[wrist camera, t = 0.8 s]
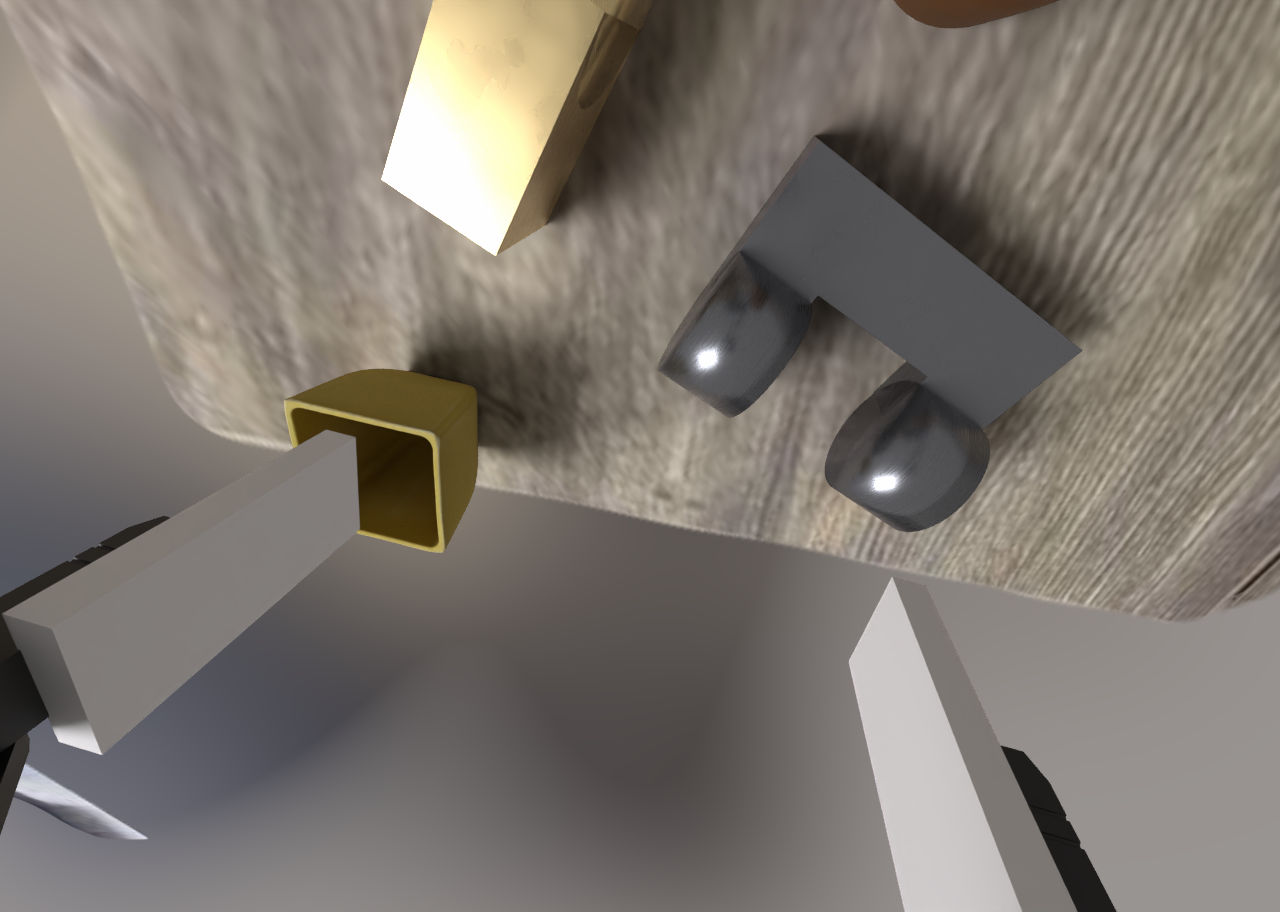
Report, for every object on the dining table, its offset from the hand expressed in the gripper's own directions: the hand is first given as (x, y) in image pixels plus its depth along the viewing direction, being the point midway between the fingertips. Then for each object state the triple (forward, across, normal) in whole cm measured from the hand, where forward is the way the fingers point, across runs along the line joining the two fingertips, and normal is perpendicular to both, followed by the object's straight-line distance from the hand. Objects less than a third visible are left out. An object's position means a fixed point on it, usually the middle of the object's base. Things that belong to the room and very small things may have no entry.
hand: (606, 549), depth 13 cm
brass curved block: (+20, -9, +12) cm, 25 cm away
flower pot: (+23, -16, -9) cm, 29 cm away
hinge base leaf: (+21, +9, +2) cm, 23 cm away
